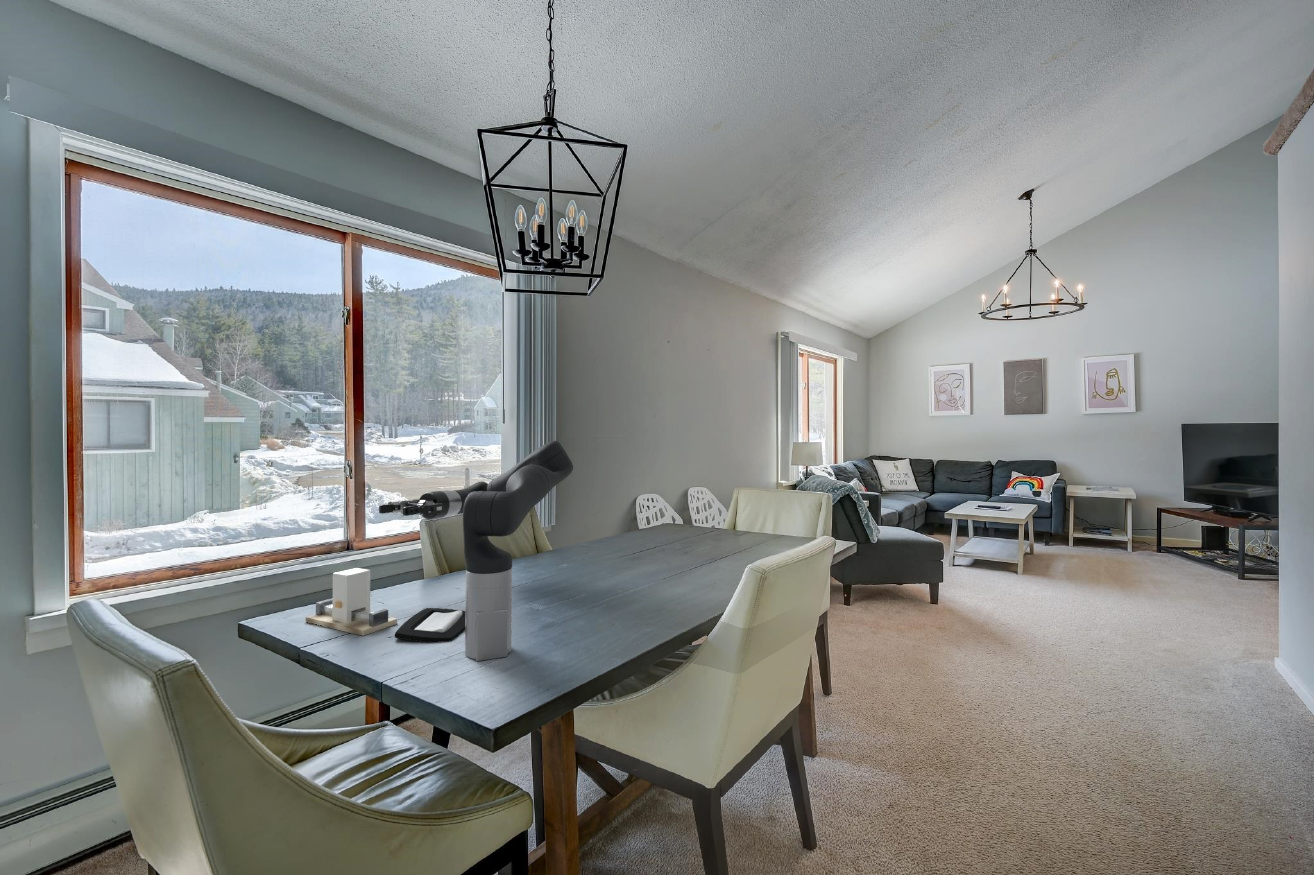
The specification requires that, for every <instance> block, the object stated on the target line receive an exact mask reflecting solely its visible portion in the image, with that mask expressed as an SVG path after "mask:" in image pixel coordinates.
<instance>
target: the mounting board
mask: <svg viewBox="0 0 1314 875" xmlns="http://www.w3.org/2000/svg"><path fill="white" fill-rule="evenodd" d="M307 622H308V624H311V623H314V624H313V625H315V624H317V625H316V626H320V625H322V626H321V627H324V628H328V627H329V629H333V630H337V631H342V632H346V633H350V634H354V635H360V636H363V637H364V636H366V635H369V634H372V633H375V632H378V631H381V630H383V629H386V628H389V627H392V626H395V625H397V624H398V618H395V617H390V616H388V622H386V623H383V624H380V625H377V626H374V627H371V626H369V624H365V623H360V622H356V621H351V622H349V623H343V622H339V621H334V620H332V616H328V615H324V614H322V615H317V614H316V613H315V614H312V615H308V616H305V623H307Z"/></svg>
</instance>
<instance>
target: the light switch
mask: <svg viewBox="0 0 1314 875" xmlns="http://www.w3.org/2000/svg"><path fill="white" fill-rule="evenodd" d="M465 612H466V610H463V609H462V610H461V609H452V608H440V607H439V608H438V607H425V608H423V609H422V610H420V611H418V612H417V613H415V614H413V615H412V616H411V617H409V618H408V619H407V620H406V621H405V622H404V623H403V624H401V626H399V628H397V630H396V631H395V633H394V638H395V639H401V640H404V641H405V640H407V641H413V642H414V641H415V642H421V643H423V642H424V643H445V642H446V643H447V642H452V641H454V640H455V639H456V638H458V637H459V636H460V635H461V634H462V633H464V632H465Z"/></svg>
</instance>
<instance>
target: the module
mask: <svg viewBox="0 0 1314 875" xmlns="http://www.w3.org/2000/svg"><path fill="white" fill-rule="evenodd" d="M332 599H333V609H332V620H334V621H339V622H343V623H349V622H351V611H353V610H357V609H363V610H368V611H371V569H367V568H359V567H354V568H350V569H346V570H341V571H337V572H333V573H332Z"/></svg>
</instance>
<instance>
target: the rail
mask: <svg viewBox="0 0 1314 875" xmlns="http://www.w3.org/2000/svg"><path fill="white" fill-rule="evenodd" d="M332 609H333V597H332V598H328V599H325V600H321V601H317V602H315V614H317V615H322V614H324V615H328V616H332ZM388 617H389V609H387V608H382V609H380V610H376V611H372V610H370V611H368V610H363V609H357V610H353V611H351V621H356V622H360V623H365V624H369V626H371V627H374V626H377V625H380V624H383V623H386V622H388Z"/></svg>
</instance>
